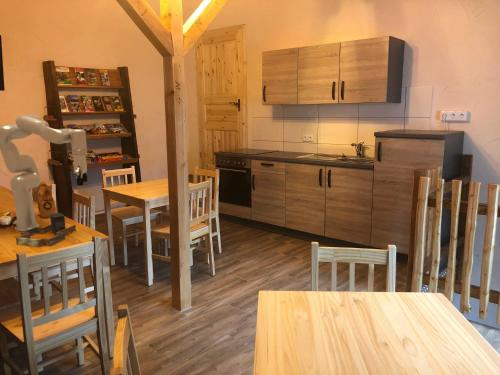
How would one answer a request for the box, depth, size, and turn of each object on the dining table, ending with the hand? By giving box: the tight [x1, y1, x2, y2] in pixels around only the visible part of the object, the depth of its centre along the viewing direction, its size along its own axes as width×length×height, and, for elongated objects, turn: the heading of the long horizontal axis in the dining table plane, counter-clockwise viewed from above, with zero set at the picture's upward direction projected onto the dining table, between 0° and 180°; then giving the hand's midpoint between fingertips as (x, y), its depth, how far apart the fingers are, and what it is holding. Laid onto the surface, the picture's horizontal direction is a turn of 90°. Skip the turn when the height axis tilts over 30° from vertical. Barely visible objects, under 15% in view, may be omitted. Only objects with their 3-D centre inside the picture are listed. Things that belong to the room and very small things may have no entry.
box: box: [49, 212, 67, 236], centre depth 236 cm, size 8×6×11 cm
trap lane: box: [15, 223, 77, 248], centre depth 229 cm, size 24×27×4 cm
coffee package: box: [37, 180, 57, 219], centre depth 269 cm, size 10×12×22 cm
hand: (82, 183), depth 231 cm, fingers open, 9 cm apart
